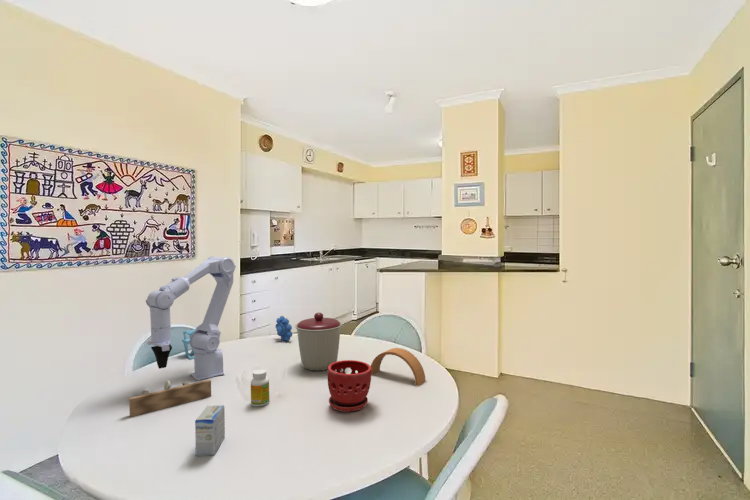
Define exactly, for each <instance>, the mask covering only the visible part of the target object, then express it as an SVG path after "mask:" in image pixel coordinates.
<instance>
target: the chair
mask: <svg viewBox="0 0 750 500" xmlns="http://www.w3.org/2000/svg"><path fill="white" fill-rule="evenodd" d="M195 330H196V328H194V329H186V330H185V331H183V332H182V334H183V336H184V338H183V339H182V340H181V342H182V343H183V347H184V354H185V356H186V357H187V358H188V359H189V360H194V351H193V348H192V349H191V351H190V353H189V349H188V345H190V343H189V341H190V337H191V336H192V334H193V333H194V332H195ZM186 334H187V335H188V336H189V338H187V335H186ZM191 354H192V356H191Z"/></svg>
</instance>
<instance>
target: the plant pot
mask: <svg viewBox="0 0 750 500" xmlns="http://www.w3.org/2000/svg"><path fill="white" fill-rule="evenodd" d="M346 369H350V370H351V372H350V373H346ZM341 370H342V371H341ZM356 371H357V372H356ZM326 378H327V387H328V391H329V394H330V397H329V398H328V403H329V406H330V407H331V408H333V409H335V410H336V411H339V412H343V413H344V412H345V413H346V412H348V413H349V412H350V413H351V412H357V411H359V410H362V409H364V408H365V406H367V404H368V401H369V399H368V397H367V396H368V394H369V392H370V387H371V381H372V375H371V364H370V363H369V364H368V363H367V362H365V361H360V360H354V359H353V360H352V359H347V360H345V359H343V360H337V362H334V363H331V364H330V365H329V366H328V369H327V377H326Z"/></svg>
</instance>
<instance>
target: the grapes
mask: <svg viewBox="0 0 750 500" xmlns="http://www.w3.org/2000/svg"><path fill="white" fill-rule="evenodd" d="M275 322H276V324H275V329H276V333H277V334H276V335H277V336H278V337H280V340H281V341H283V342H284V341H286V342H290V340H291V338H292V337H293V332H292V329H293V327H292V325H291V324H290V320H289V319H288V318H287V317H286V318H285V317H284V315H281V316H279V317H277V318H276V320H275Z"/></svg>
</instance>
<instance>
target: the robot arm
mask: <svg viewBox="0 0 750 500" xmlns="http://www.w3.org/2000/svg"><path fill="white" fill-rule="evenodd" d="M235 270H236V265H235V262H234V261H233V259H232V258H231V257H230V256H209V257H208V258H207V259H204V260H203V261H202V262H201V263H200V264H199V265H198V266H196V267H195V268H194V269H192V270H191V271H189V272H188V273H186V275H184V276H177V277H176V276H174V277H172V278H171V281H170V282H168V283H166V284H165V285H161V286H159V290H153V291H151V292H150V293H148V295H147V297H146V299H145V303H146V305H147V306H148V307H149V314H150V315H149V317H150V339H151V340H148V341H147V342H146V345H148V346H150V345H152V346H151V347H150V349H151V350H152V352H153V354H154V357H155V360H156V364H157V367H158V369H165V368H166V367H167V366H168V362H169V361H168V360H169V356H170V353H171V351H172V349H173V346H172V345H171V343H172V341H173V339H172V331H171V330H172V327H171V307H172V306H173V305H174V302H175V300H177V299H178V298H180V297H181V296H183V294H185V293H186V292H188V291H189V289H190V286H191V285H192V284H193V283H195V282H197V281H199V280H200V279H202V278H203V277H204V276H206V275H208V274H210V275H211V277H212V278H213V279H214V280H215V282H216V286H215V288H214V290H213V293H212V295H211V299H210V301H209V304H208V306H207V309H206V313H205V314H204V318H203V321H202V323H201V324H200V325H198V326H196V328H195V329H196V330H195V332H194V333H193V334H192V336H191V337H190V336H189V338H190V341H189V343H190V344H189V346H190V347H191V348H192V349H193V351H194V354H193V356H194V359H193V360H194V361H193V362H194V372H191V373H190V375H191V376H192V377H193V378H194V379H195V380H196V381H200V380H201V381H202V380H204V379H205V380H206V379H210V378H213V377H218V376H222V375H225V373H224V355H223V351H222V349H221V348H219V346H220V341H221V340H220V338H221V330H220V328H219V324H220V322H221V318H222V315H223V312H224V310H225V307H226V304H227V301H228V299H229V295H230V293H231V290H232V286H233V284H234V273H235Z"/></svg>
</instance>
